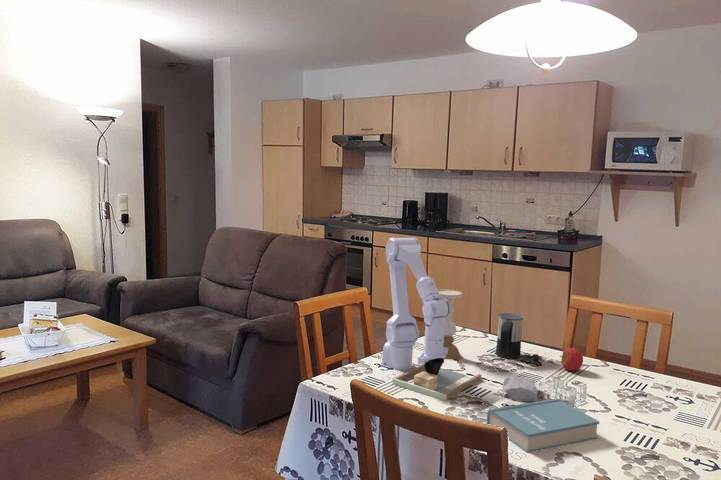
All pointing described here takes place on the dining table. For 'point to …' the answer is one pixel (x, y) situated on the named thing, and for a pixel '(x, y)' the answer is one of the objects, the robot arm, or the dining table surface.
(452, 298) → the candle holder
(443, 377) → the box
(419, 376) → the maple block
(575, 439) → the book
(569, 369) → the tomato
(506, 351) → the milk frother
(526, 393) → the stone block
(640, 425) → the dining table surface
